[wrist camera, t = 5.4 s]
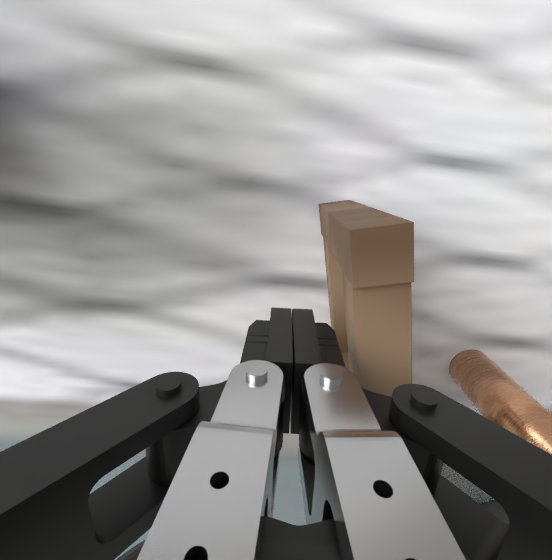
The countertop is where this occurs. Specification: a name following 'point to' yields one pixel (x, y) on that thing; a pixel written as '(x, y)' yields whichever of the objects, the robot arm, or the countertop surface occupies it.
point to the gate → (370, 291)
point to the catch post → (502, 398)
